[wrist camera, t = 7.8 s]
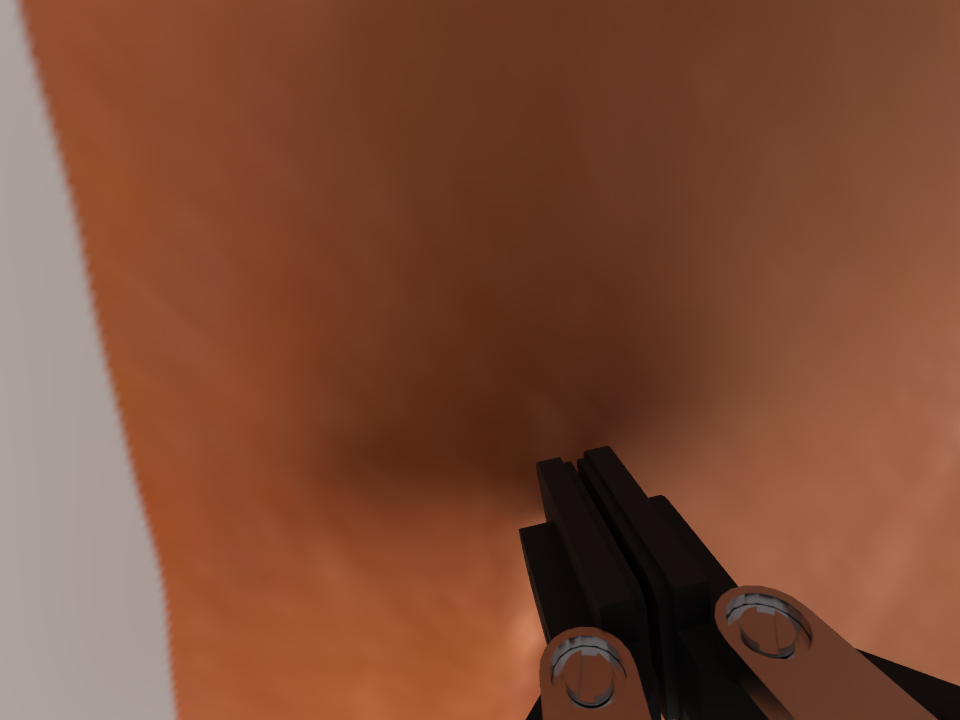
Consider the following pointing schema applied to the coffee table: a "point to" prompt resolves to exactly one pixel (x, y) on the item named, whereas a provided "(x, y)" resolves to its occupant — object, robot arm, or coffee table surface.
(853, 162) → the coffee table surface
